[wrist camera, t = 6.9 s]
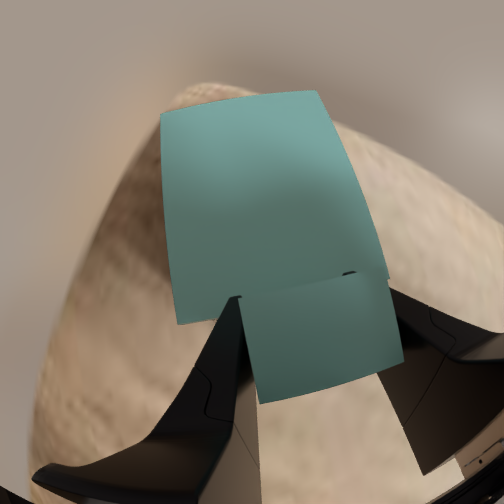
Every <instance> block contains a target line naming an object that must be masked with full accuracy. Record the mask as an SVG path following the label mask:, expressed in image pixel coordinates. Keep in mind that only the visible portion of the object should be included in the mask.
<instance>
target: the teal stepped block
mask: <svg viewBox="0 0 504 504" xmlns="http://www.w3.org/2000/svg"><path fill="white" fill-rule="evenodd" d="M160 139H161V172H162V191H163V206H164V219H165V231H166V241H167V251H168V260H169V268H170V276H171V284H172V291H173V298H174V305H175V311H176V318H177V324H179V325H183V324H190V323H196V322H202V321H208V320H214V319H218V318H219V316H220V314H221V312H222V311H223V309H224V307H225V305H226V303H227V301H228V299H229V298H230V297H232V296H237V295H241V296H242V298H238V301H239V306H240V311H241V316H242V321H243V326H244V332H245V336H246V341H247V346H248V351H249V356H250V361H251V366H252V371H253V375H254V380H255V385H256V389H257V394H258V399H259V403H260V404H264V403H269V402H274V401H279V400H283V399H288V398H292V397H297V396H301V395H305V394H309V393H313V392H316V391H320V390H324V389H327V388H331V387H334V386H337V385H341V384H344V383H347V382H350V381H353V380H356V379H359V378H362V377H365V376H368V375H371V374H374V373H377V372H379V371H382V370H385V369H387V368H390V367H392V366H395V365H397V364H400V363H402V362H404V357H403V351H402V345H401V340H400V334H399V329H398V324H397V319H396V315H395V310H394V306H393V301H392V297H391V293H390V289H389V285H388V281H387V280H388V279H390V277H389V273H388V269H387V266H386V262H385V259H384V255H383V252H382V248H381V245H380V242H379V239H378V236H377V233H376V229H375V226H374V223H373V220H372V218H371V215H370V212H369V209H368V206H367V203H366V201H365V198H364V195H363V193H362V190H361V187H360V185H359V182H358V180H357V177H356V175H355V172H354V170H353V167H352V165H351V163H350V160H349V158H348V156H347V153H346V151H345V149H344V146H343V144H342V142H341V140H340V138H339V135H338V133H337V131H336V129H335V127H334V125H333V123H332V121H331V119H330V117H329V115H328V113H327V111H326V109H325V107H324V105H323V103H322V101H321V99H320V97H319V95H318V93H317V91H316V90H310V91H294V92H281V93H272V94H262V95H254V96H246V97H239V98H233V99H227V100H221V101H216V102H210V103H205V104H200V105H195V106H191V107H186V108H182V109H178V110H174V111H170V112H166V113H162V114H160ZM349 271H355V272H357V273H353V274H349V275H345V276H342V274H343V273H345V272H349Z"/></svg>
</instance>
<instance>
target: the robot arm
mask: <svg viewBox="0 0 504 504" xmlns="http://www.w3.org/2000/svg"><path fill="white" fill-rule="evenodd" d="M353 273H357V272H355V271H349V272H345V273H343V274H342V276H345V275H349V274H353ZM389 289H390V293H391V297H392V301H393V306H394V310H395V315H396V319H397V324H398V329H399V334H400V340H401V345H402V351H403V357H404V362H402V363H400V364H397V365H395V366H392V367H390V368H387V369H385V370H382V371H379V372H377V375H378V377H379V379H380V381H381V383H382V385H383V387H384V389H385V391H386V393H387V395H388V397H389V399H390V401H391V403H392V406H393V408H394V410H395V412H396V414H397V416H398V418H399V421H400V423H401V425H402V427H403V430H404V432H405V434H406V437H407V439H408V441H409V443H410V446H411V448H412V450H413V453H414V455H415V457H416V460H417V462H418V465H419V467H420V470H421V472H422V474H423V476H425V475H427V474H428V473H430V472H432V471H434V470H435V469H437V468H439V467H440V466H442V465H444V464H445V463H447V462H448V461H450V460H452V459H453V458H456V460H457V462H458V465H459V467H460V469H461V472H462V474H463V476H464V478H465V479H464V480H463V481H461V482H460V483H458V484H457V485H455V486H454V487H452V488H451V489H449V490H448V491H446V492H445V493H443V494H441V495H440V496H438V497H436V498H435V499H433V500H431V501H430V502H428V503H426V504H504V333H495V332H491V331H488V330H485V329H482V328H480V327H477V326H475V325H472V324H470V323H467V322H464V321H462V320H459V319H457V318H454V317H452V316H450V315H447V314H445V313H443V312H441V311H439V310H437V309H434V308H432V307H429V306H428V305H426V304H424V303H422V302H420V301H418V300H416V299H413V298H411V297H409V296H407V295H405V294H403V293H401V292H399V291H397V290H394V289H392V288H390V287H389ZM238 298H242V296H241V295H237V296H232V297H230V298H229V299H228V301H227V303H226V305H225V307H224V309H223V311H222V312H221V314H220V316H219V318H218V320H217V322H216V324H215V326H214V328H213V330H212V332H211V334H210V336H209V338H208V340H207V342H206V344H205V345H204V347H203V349H202V351H201V353H200V355H199V357H198V359H197V361H196V363H195V365H194V366H195V367H193V368H192V370H191V372H190V374H189V376H188V378H187V380H186V382H185V383H184V385H183V387H182V388H181V390H180V392H179V393H178V395H177V396H176V398H175V399H174V401H173V402H172V403H171V405H170V406H169V408H168V409H167V411H166V412H165V413H164V415H163V416H162V418H161V419H160V420H159V422H158V423H157V425H156V426H155V427H154V429H153V430H152V431H151V433H150V434H149V435H148V436H147V437H146V438H144V439H143V440H142V441H140V442H139V443H137V444H135V445H133V446H131V447H129V448H127V449H124V450H122V451H120V452H118V453H115V454H113V455H111V456H108V457H106V458H104V459H101V460H99V461H96V462H94V463H91V464H88V465H85V466H79V467H70V466H65V465H61V464H56V463H50V464H48V465H46V466H44V467H42V468H40V469H39V470H38V471H36V472H35V474H34V475H33V477H32V481H33V482H34V483H36V484H38V485H39V486H41V487H43V488H45V489H47V490H49V491H51V492H53V493H55V494H57V495H59V496H61V497H63V498H65V499H68V500H70V501H72V502H75V503H77V504H262V498H261V480H260V463H259V444H258V426H257V407H256V388H255V380H254V375H253V371H252V366H251V361H250V356H249V351H248V346H247V341H246V336H245V332H244V326H243V321H242V316H241V311H240V306H239V301H238ZM0 504H34V503H32V502H30V501H28V500H25V499H23V498H22V497H19V496H18V495H16V494H14V493H12V492H10V491H8V490H7V489H5V488H3V487H2V486H0Z"/></svg>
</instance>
